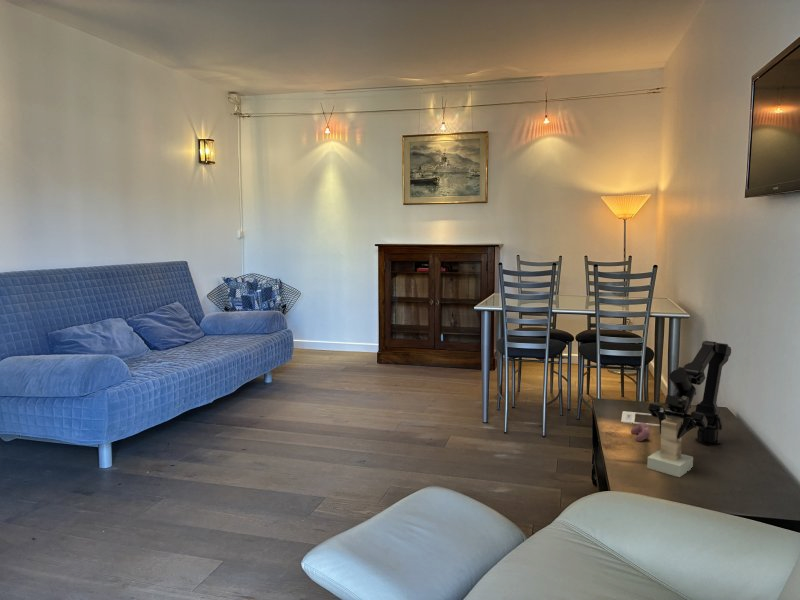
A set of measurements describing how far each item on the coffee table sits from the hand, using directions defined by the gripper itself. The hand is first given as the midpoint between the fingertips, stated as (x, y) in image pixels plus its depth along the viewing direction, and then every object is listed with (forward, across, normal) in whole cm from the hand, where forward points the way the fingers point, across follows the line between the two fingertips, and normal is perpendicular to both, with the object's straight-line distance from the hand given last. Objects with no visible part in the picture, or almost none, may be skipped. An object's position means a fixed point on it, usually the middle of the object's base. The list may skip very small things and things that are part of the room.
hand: (669, 436), depth 197 cm
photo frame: (-22, -30, +41) cm, 55 cm away
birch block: (+5, 0, +7) cm, 8 cm away
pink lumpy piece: (-7, -20, +25) cm, 33 cm away
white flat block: (+8, 0, +9) cm, 12 cm away
